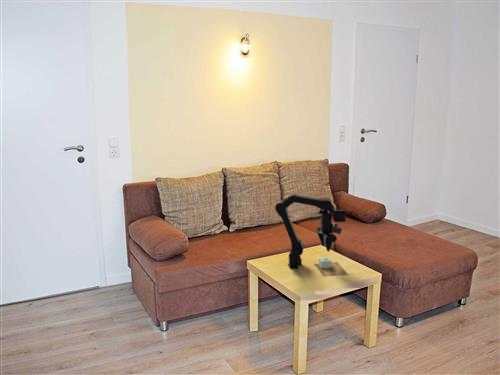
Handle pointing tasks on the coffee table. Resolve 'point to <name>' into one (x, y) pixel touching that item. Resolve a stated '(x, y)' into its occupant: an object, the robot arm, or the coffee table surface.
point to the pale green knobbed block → (325, 262)
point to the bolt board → (332, 270)
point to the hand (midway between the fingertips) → (325, 248)
